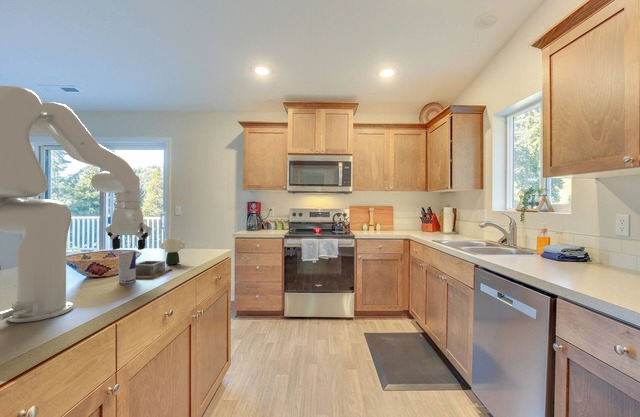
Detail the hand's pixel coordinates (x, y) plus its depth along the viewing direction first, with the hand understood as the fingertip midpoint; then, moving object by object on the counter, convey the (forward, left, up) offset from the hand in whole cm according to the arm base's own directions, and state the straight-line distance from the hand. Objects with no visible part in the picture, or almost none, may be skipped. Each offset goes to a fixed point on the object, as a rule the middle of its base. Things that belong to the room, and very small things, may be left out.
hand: (128, 249), depth 106 cm
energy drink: (-1, 0, -13) cm, 13 cm away
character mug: (+31, -1, -13) cm, 34 cm away
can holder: (+11, -1, -13) cm, 17 cm away
